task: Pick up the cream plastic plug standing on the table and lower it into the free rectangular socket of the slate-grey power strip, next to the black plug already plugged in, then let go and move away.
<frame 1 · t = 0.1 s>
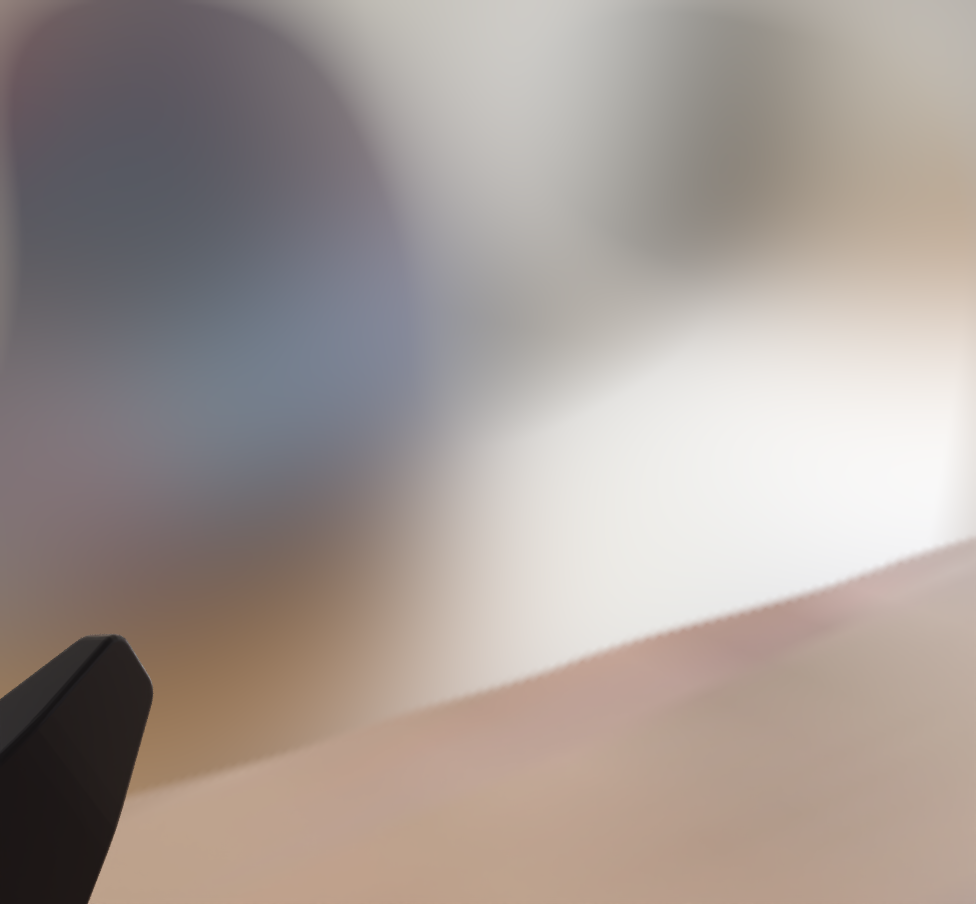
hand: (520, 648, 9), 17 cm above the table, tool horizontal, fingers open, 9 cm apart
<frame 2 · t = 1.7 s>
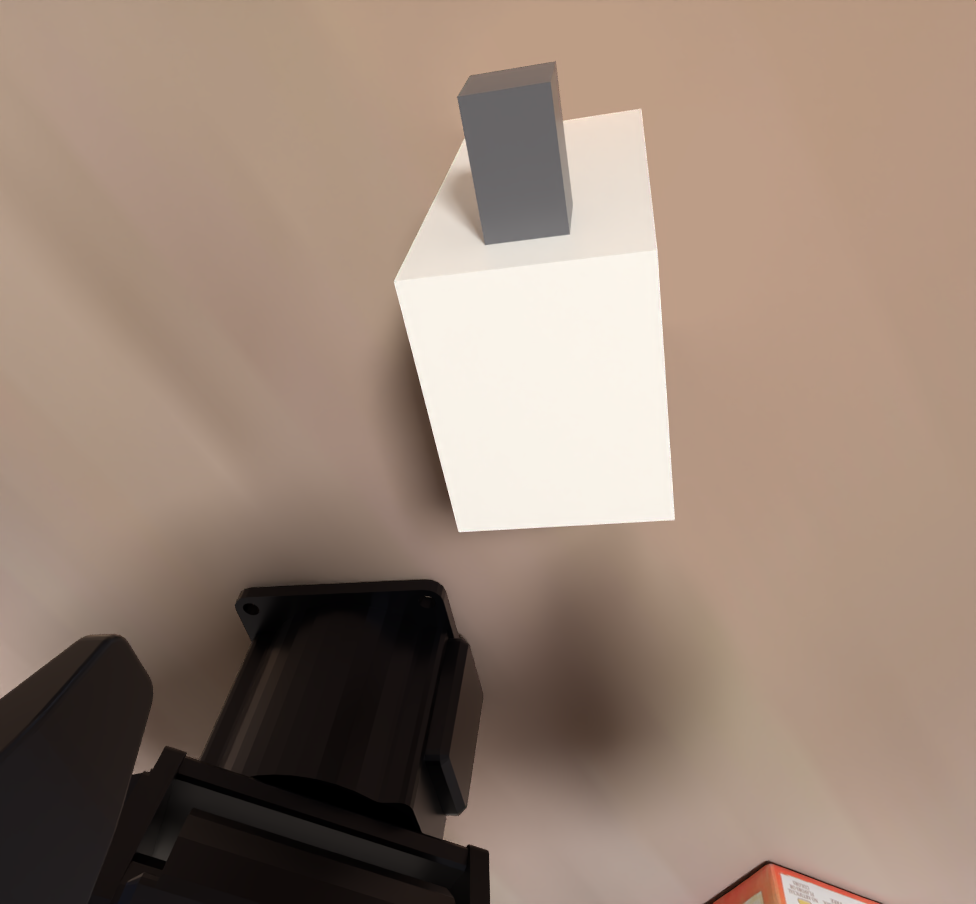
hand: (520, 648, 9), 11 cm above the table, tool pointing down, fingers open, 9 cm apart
plug: (565, 230, 18), on the table
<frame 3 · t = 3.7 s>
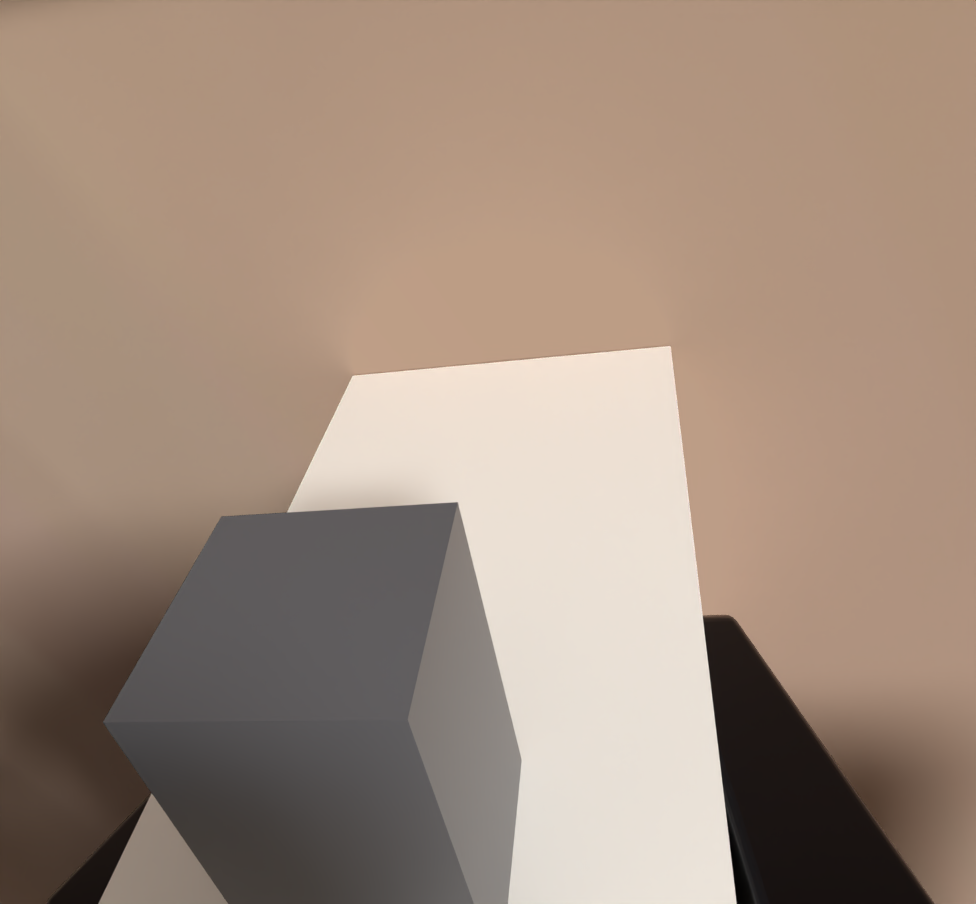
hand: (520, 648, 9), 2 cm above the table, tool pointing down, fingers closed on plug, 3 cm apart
plug: (534, 519, 10), on the table, touching gripper
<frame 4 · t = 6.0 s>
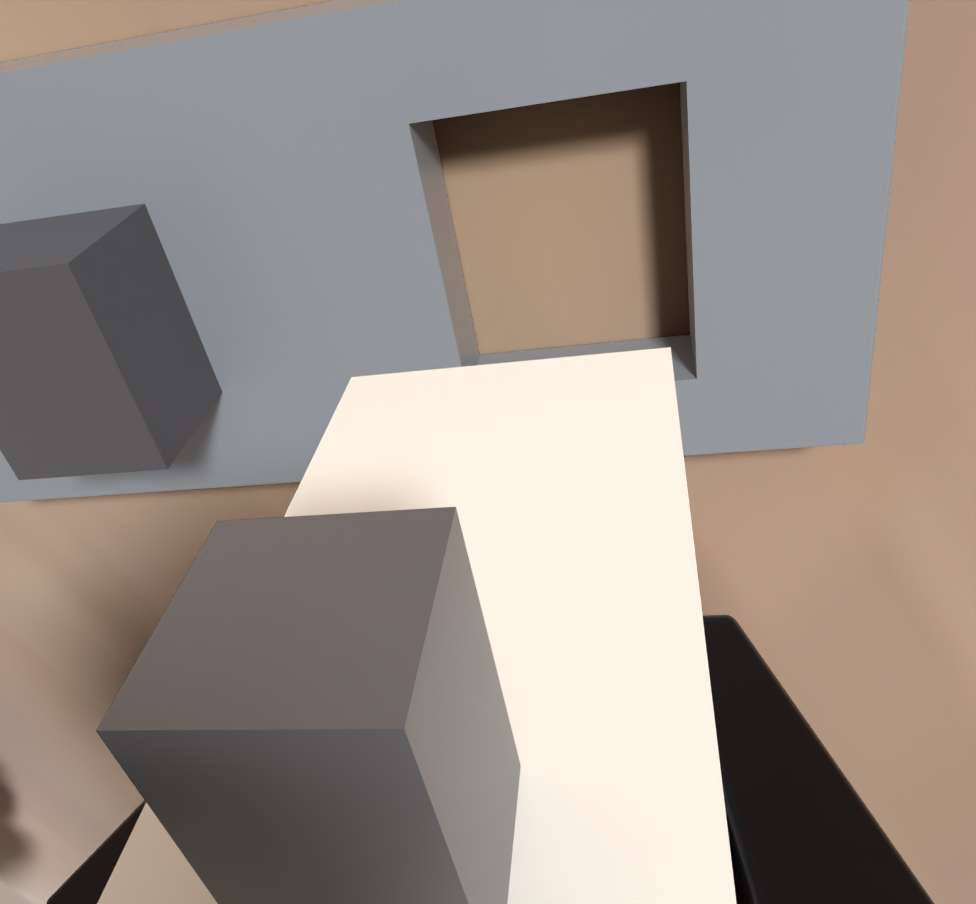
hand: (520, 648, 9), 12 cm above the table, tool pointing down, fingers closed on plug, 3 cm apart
power strip: (350, 250, 19), on the table
plug: (534, 521, 10), point 10 cm above the table, touching gripper
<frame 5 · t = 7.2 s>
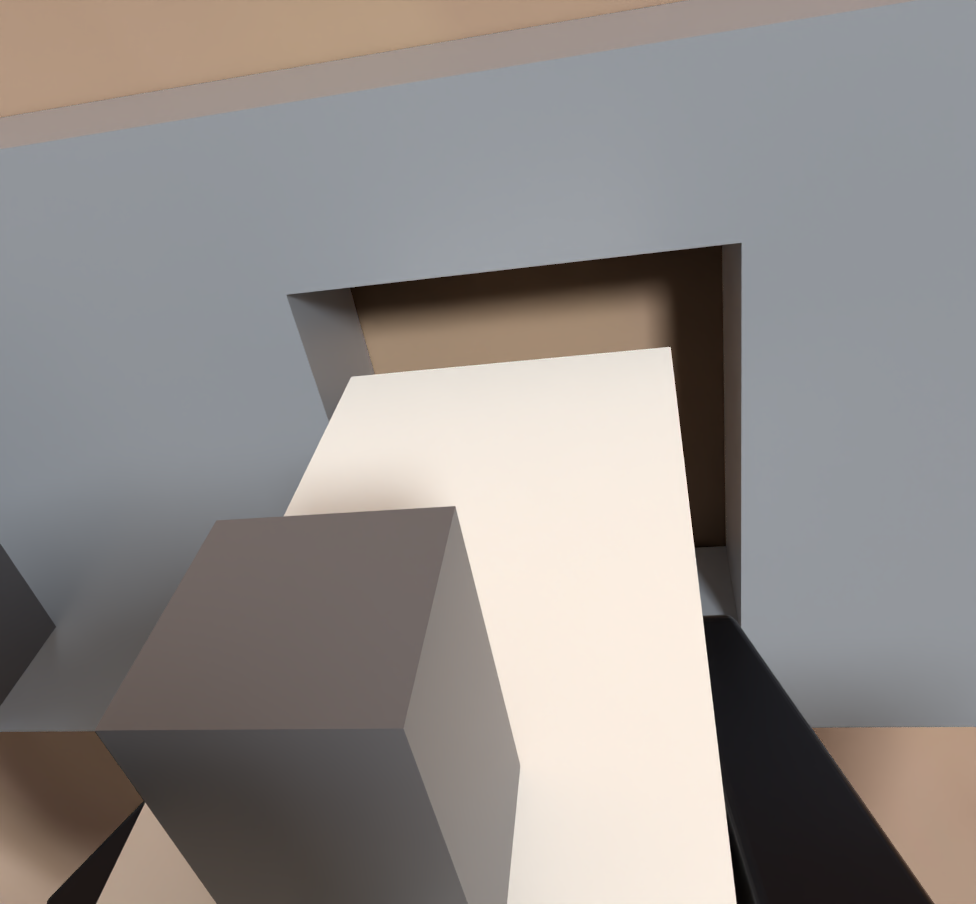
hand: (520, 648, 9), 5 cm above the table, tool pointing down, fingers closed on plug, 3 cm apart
power strip: (236, 428, 13), on the table
plug: (534, 521, 10), point 3 cm above the table, touching gripper
when the fingers open (3 cm above the table, at t = 8.2 s): plug drops 1 cm, resting in power strip.
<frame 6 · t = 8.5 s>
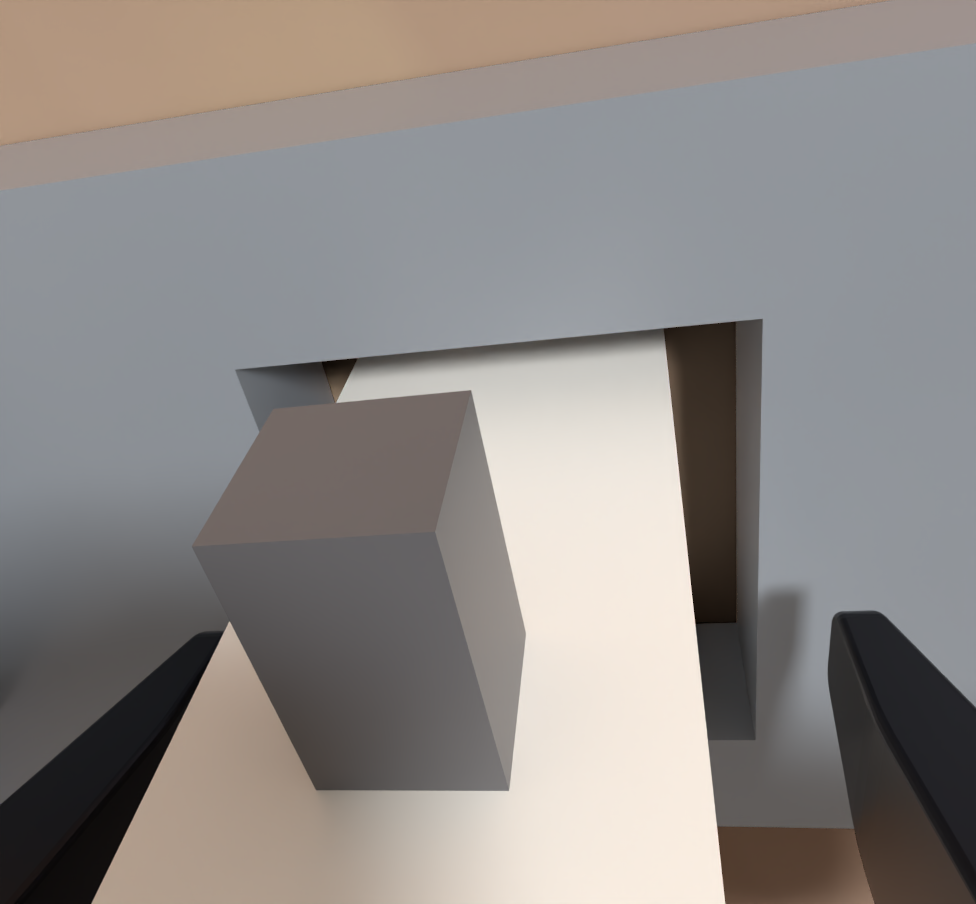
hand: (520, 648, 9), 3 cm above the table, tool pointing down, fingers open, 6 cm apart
power strip: (196, 494, 12), on the table
plug: (537, 471, 11), resting in power strip
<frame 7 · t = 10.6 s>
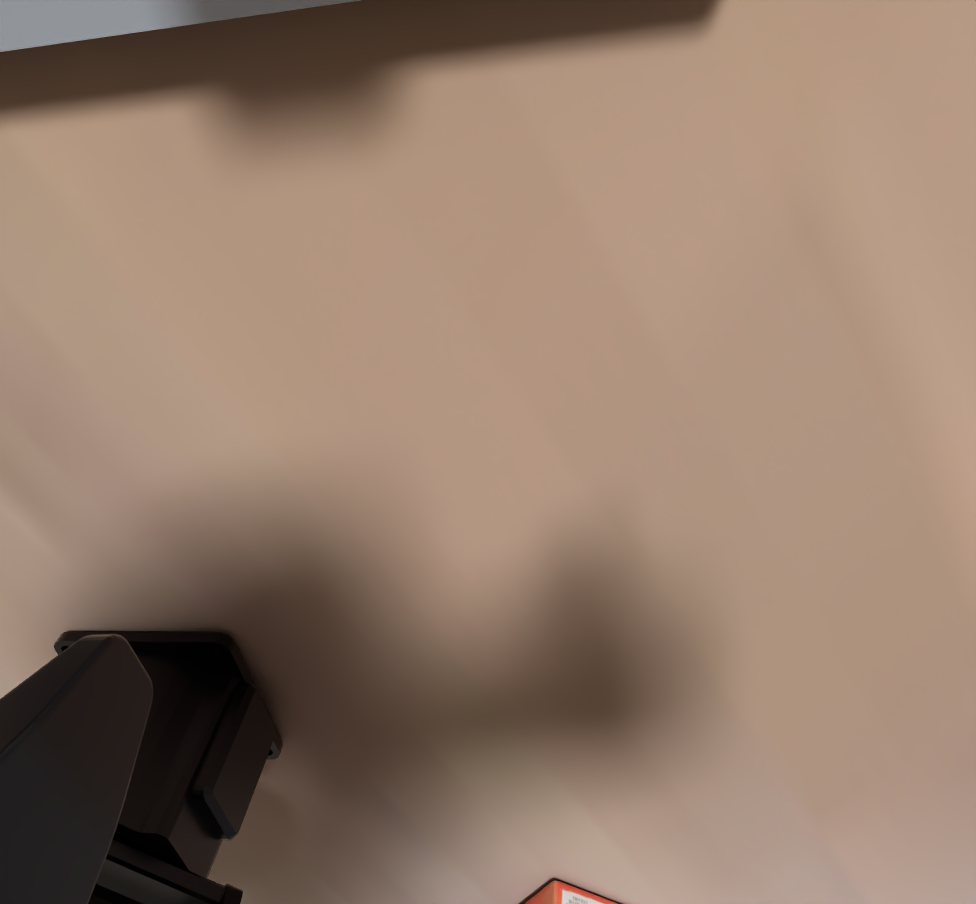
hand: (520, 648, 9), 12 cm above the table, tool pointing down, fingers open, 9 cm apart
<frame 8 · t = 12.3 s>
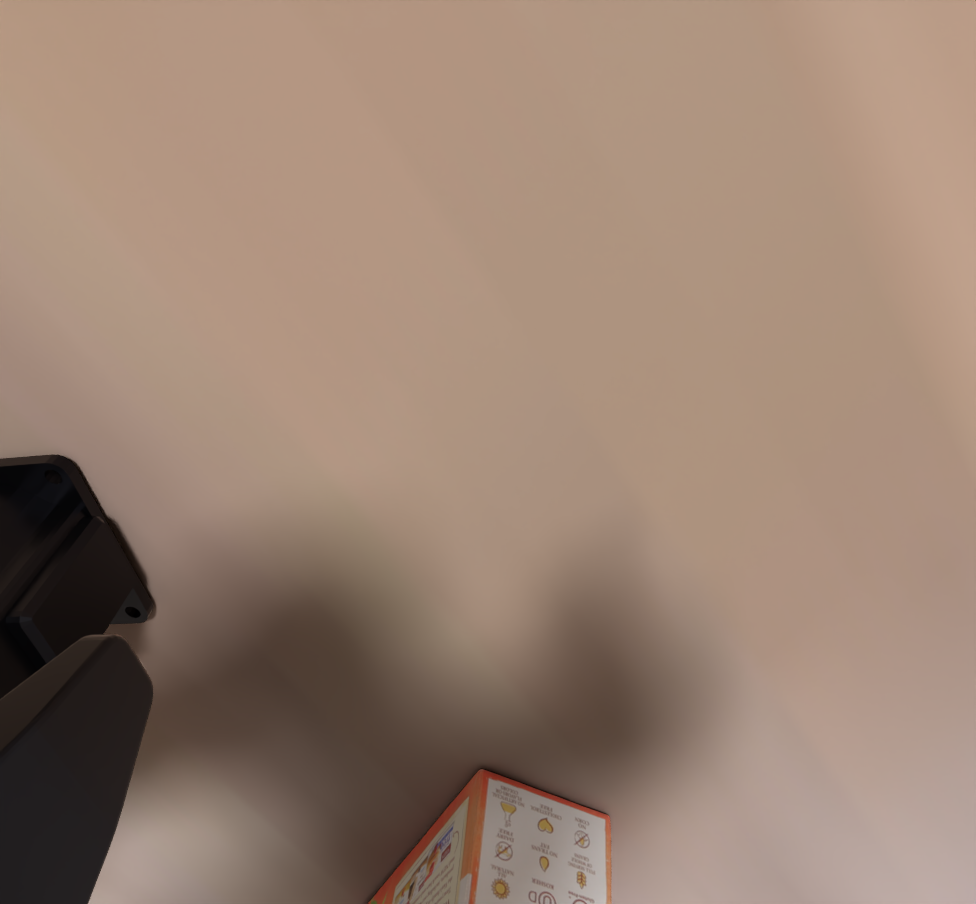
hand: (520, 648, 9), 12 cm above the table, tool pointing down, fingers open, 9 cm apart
cracker box: (477, 861, 35), on the table
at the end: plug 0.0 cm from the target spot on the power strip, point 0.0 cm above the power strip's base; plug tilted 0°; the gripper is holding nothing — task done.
